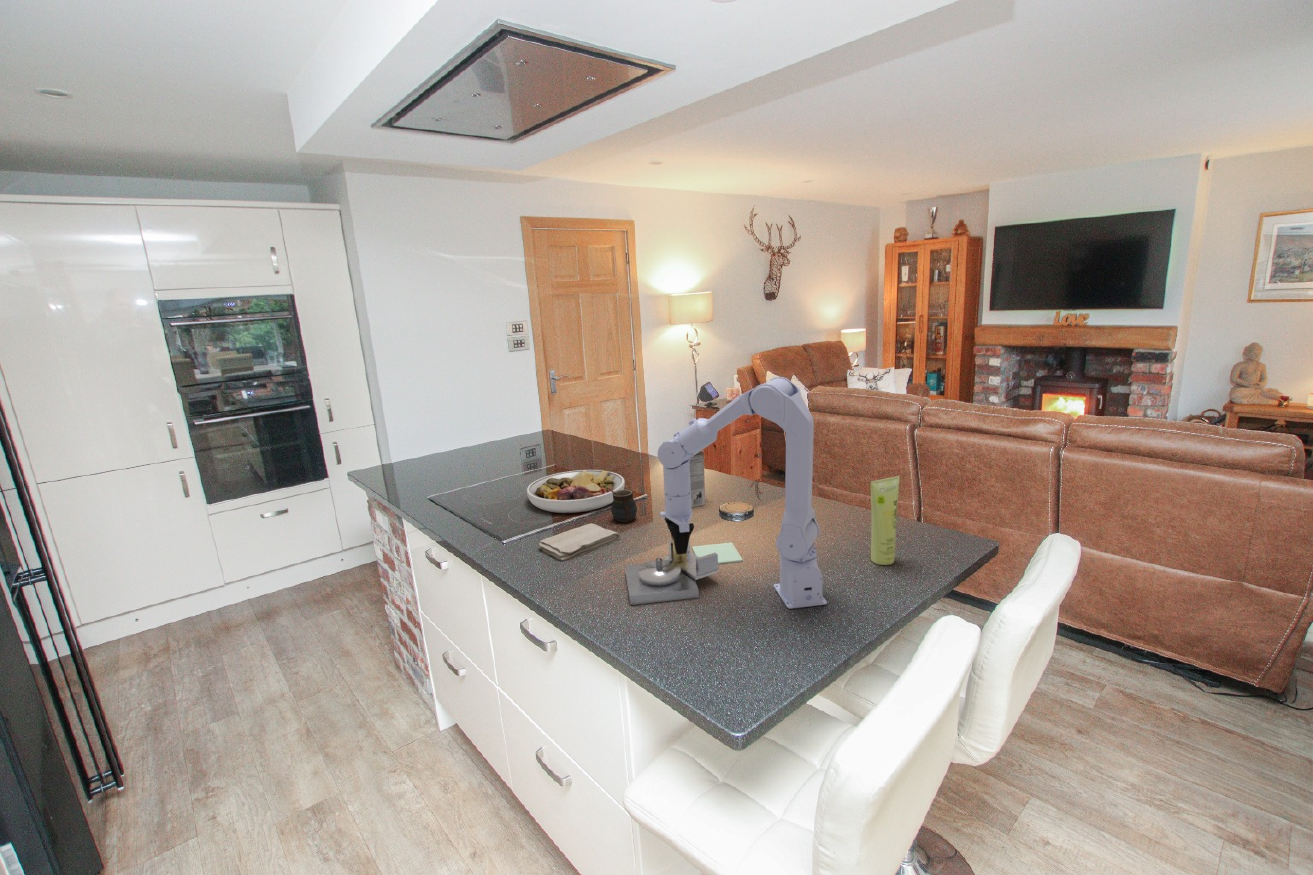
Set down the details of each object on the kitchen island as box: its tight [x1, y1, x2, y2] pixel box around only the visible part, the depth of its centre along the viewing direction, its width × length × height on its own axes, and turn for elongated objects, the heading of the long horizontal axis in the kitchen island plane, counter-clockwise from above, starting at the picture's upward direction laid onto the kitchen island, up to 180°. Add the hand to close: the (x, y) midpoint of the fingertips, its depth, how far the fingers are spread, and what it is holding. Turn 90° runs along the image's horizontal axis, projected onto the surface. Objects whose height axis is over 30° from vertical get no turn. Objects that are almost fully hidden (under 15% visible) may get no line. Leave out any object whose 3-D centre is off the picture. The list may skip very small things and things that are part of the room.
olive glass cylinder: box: [671, 536, 687, 562], centre depth 133 cm, size 3×3×6 cm
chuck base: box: [624, 563, 700, 606], centre depth 128 cm, size 14×14×2 cm
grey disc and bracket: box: [639, 539, 720, 586], centre depth 129 cm, size 16×12×4 cm
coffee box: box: [690, 450, 706, 508], centre depth 175 cm, size 9×6×16 cm
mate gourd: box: [608, 488, 638, 523], centre depth 165 cm, size 7×8×10 cm
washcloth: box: [538, 523, 621, 561], centre depth 152 cm, size 12×18×3 cm, turn 133°
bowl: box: [526, 469, 626, 514], centre depth 185 cm, size 30×30×8 cm
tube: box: [870, 475, 901, 566], centre depth 131 cm, size 6×5×20 cm
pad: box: [691, 542, 744, 565], centre depth 142 cm, size 10×10×1 cm
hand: (680, 550), depth 133 cm, fingers closed on olive glass cylinder, 2 cm apart
